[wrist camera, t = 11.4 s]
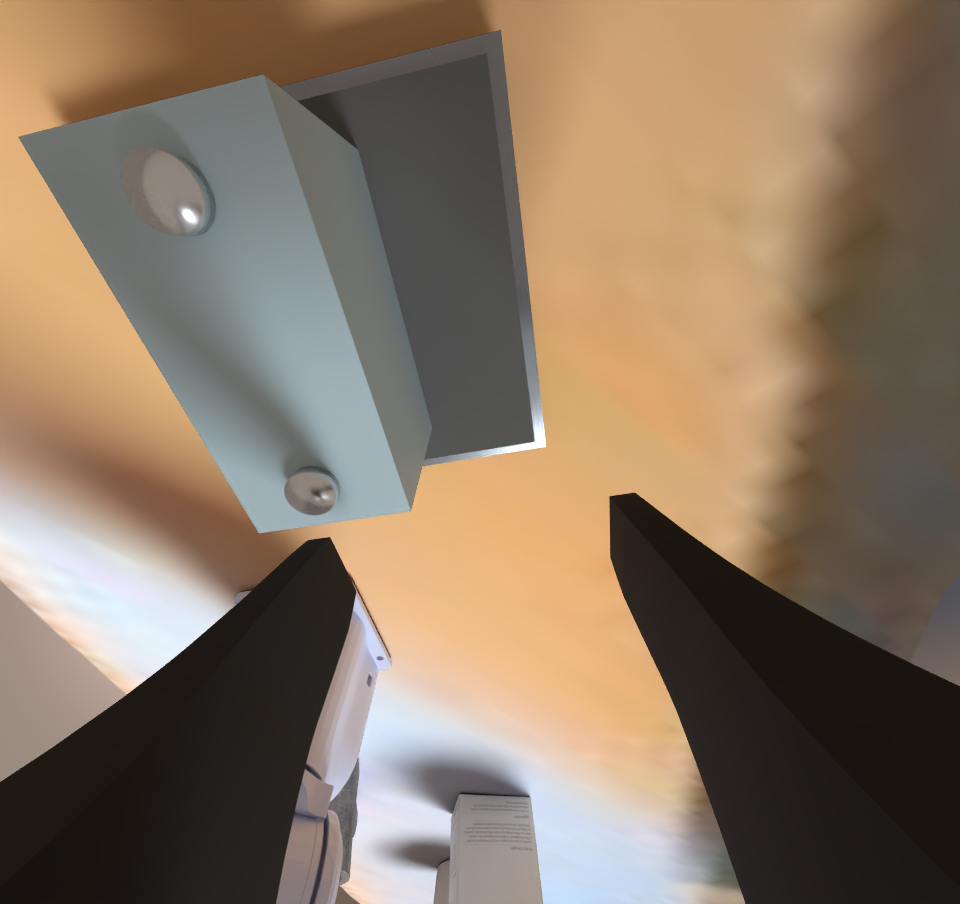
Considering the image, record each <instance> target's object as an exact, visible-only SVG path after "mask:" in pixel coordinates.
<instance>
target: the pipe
mask: <svg viewBox="0 0 960 904" xmlns="http://www.w3.org/2000/svg"><path fill="white" fill-rule="evenodd" d="M358 780H359V763H358V761H357V762H356V765H355V767H354V769H353V771H352V773H351V775H350V777H349V779H348V781H347V782H346V784H345V785H344V786H343V788H342V789H341V791H340V792H339V793H338V794H337V796H336V797H335V798H334V799H333V800H332V801H331V802H330V804H329V808H328V810H333V811H334V812H335V813H336V814H337V816H338V819H339V824H340V831H341V834H342V841H343V856H342V866H341V873H340V879H339V885H342V884H344V883H346V882H347V881H349V878H350V865H351V850H352V838H353V837H354V834H355V831H356V826H357V813H358V812H357V804H356V797H357V787H358ZM339 885H338V886H339Z"/></svg>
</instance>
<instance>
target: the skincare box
mask: <svg viewBox="0 0 960 904" xmlns="http://www.w3.org/2000/svg"><path fill="white" fill-rule="evenodd" d="M449 904H543V899H542V890H541V881H540V873H539V864H538V855H537V846H536V838H535V830H534V821H533V813H532V805H531V798H530V797H517V796H492V795H469V794H459V796H458V799H457V802H456V805H455V808H454V811H453V814H452V818H451V844H450V879H449Z"/></svg>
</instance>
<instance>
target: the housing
mask: <svg viewBox="0 0 960 904" xmlns="http://www.w3.org/2000/svg"><path fill="white" fill-rule="evenodd" d="M19 139H20V141H21V142H22V144H23V146H24V147H25V149H26V151H27V152H28V154H29V156H30V157H31V159H32V161H33V162H34V164H35V165H36V167H37V169H38V170H39V172H40V174H41V175H42V177H43V179H44V180H45V182H46V184H47V185H48V187H49V189H50V190H51V192H52V193H53V195H54V197H55V198H56V200H57V202H58V203H59V205H60V207H61V208H62V210H63V212H64V213H65V215H66V217H67V218H68V220H69V221H70V223H71V225H72V226H73V228H74V230H75V231H76V233H77V235H78V236H79V238H80V240H81V241H82V243H83V245H84V246H85V248H86V249H87V251H88V253H89V254H90V256H91V258H92V259H93V261H94V263H95V264H96V266H97V268H98V269H99V271H100V273H101V274H102V276H103V277H104V279H105V281H106V282H107V284H108V286H109V287H110V289H111V291H112V292H113V294H114V296H115V297H116V299H117V301H118V302H119V304H120V305H121V307H122V309H123V310H124V312H125V314H126V315H127V317H128V319H129V320H130V322H131V324H132V325H133V327H134V329H135V330H136V332H137V333H138V335H139V337H140V338H141V340H142V342H143V343H144V345H145V347H146V348H147V350H148V352H149V353H150V355H151V357H152V358H153V360H154V361H155V363H156V365H157V366H158V368H159V370H160V371H161V373H162V375H163V376H164V378H165V380H166V381H167V383H168V385H169V386H170V388H171V389H172V391H173V393H174V394H175V396H176V398H177V399H178V401H179V403H180V404H181V406H182V408H183V409H184V411H185V413H186V414H187V416H188V417H189V419H190V421H191V422H192V424H193V426H194V427H195V429H196V431H197V432H198V434H199V436H200V437H201V439H202V441H203V442H204V444H205V445H206V447H207V449H208V450H209V452H210V454H211V455H212V457H213V459H214V460H215V462H216V464H217V465H218V467H219V469H220V470H221V472H222V473H223V475H224V477H225V478H226V480H227V482H228V483H229V485H230V487H231V488H232V490H233V492H234V493H235V495H236V497H237V498H238V500H239V501H240V503H241V505H242V506H243V508H244V510H245V511H246V513H247V515H248V516H249V518H250V520H251V521H252V523H253V525H254V526H255V528H256V529H257V531H258V533H266V532H273V531H279V530H286V529H293V528H300V527H307V526H313V525H320V524H327V523H334V522H341V521H347V520H354V519H361V518H368V517H375V516H381V515H388V514H395V513H402V512H409V511H411V508H412V505H413V501H414V497H415V493H416V489H417V485H418V481H419V477H420V473H421V470H422V466H423V462H424V458H425V454H426V450H427V446H428V442H429V439H430V435H431V431H432V425H431V422H430V418H429V414H428V410H427V407H426V403H425V399H424V395H423V391H422V388H421V384H420V380H419V376H418V373H417V369H416V365H415V361H414V358H413V354H412V350H411V346H410V343H409V339H408V335H407V331H406V328H405V324H404V320H403V316H402V313H401V309H400V305H399V301H398V298H397V294H396V290H395V286H394V283H393V279H392V275H391V271H390V268H389V264H388V260H387V256H386V252H385V249H384V245H383V241H382V237H381V234H380V230H379V226H378V222H377V219H376V215H375V211H374V207H373V204H372V200H371V196H370V192H369V189H368V185H367V181H366V177H365V174H364V170H363V166H362V162H361V159H360V155H359V151H358V149H356V148H355V147H354V146H353V145H351V144H350V143H349V142H348V141H346V140H345V139H344V138H343V137H341V136H340V135H339V134H338V133H336V132H335V131H334V130H333V129H331V128H330V127H329V126H328V125H326V124H325V123H324V122H323V121H321V120H320V119H319V118H318V117H316V116H315V115H314V114H313V113H311V112H310V111H309V110H308V109H306V108H305V107H304V106H303V105H301V104H300V103H299V102H298V101H296V100H295V99H294V98H293V97H291V96H290V95H289V94H288V93H286V92H285V91H284V90H283V89H281V88H280V87H279V86H278V85H276V84H275V83H274V82H273V81H271V80H270V79H269V78H268V77H266V76H265V75H264V74H262V75H258V76H254V77H250V78H246V79H242V80H238V81H234V82H231V83H227V84H223V85H219V86H215V87H211V88H207V89H203V90H199V91H195V92H192V93H188V94H184V95H180V96H176V97H172V98H168V99H164V100H160V101H156V102H153V103H149V104H145V105H141V106H137V107H133V108H129V109H125V110H121V111H117V112H113V113H110V114H106V115H102V116H98V117H94V118H90V119H86V120H82V121H78V122H74V123H71V124H67V125H63V126H59V127H55V128H51V129H47V130H43V131H39V132H35V133H32V134H28V135H24V136H20V137H19Z"/></svg>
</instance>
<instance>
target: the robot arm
mask: <svg viewBox="0 0 960 904" xmlns="http://www.w3.org/2000/svg"><path fill="white" fill-rule="evenodd" d="M610 557H611V560H612V564H613V567H614V570H615V573H616V576H617V579H618V582H619V584H620V587H621V590H622V593H623V596H624V598H625V600H626V602H627V605H628V607H629V609H630V611H631V613H632V615H633V618H634V620H635V622H636V624H637V626H638V628H639V630H640V632H641V635H642V637H643V639H644V641H645V643H646V645H647V647H648V649H649V651H650V654H651V656H652V658H653V660H654V662H655V664H656V666H657V668H658V670H659V673H660V675H661V677H662V679H663V681H664V683H665V685H666V687H667V690H668V692H669V694H670V697H671V699H672V701H673V704H674V706H675V708H676V711H677V713H678V716H679V718H680V721H681V724H682V726H683V729H684V732H685V734H686V737H687V740H688V742H689V745H690V748H691V750H692V753H693V756H694V758H695V761H696V764H697V767H698V769H699V772H700V775H701V778H702V780H703V783H704V786H705V789H706V792H707V794H708V797H709V800H710V803H711V805H712V808H713V811H714V814H715V817H716V819H717V822H718V825H719V828H720V831H721V834H722V836H723V839H724V842H725V845H726V848H727V851H728V854H729V857H730V860H731V863H732V866H733V868H734V871H735V874H736V877H737V880H738V883H739V886H740V889H741V892H742V895H743V897H744V900H745V903H746V904H960V686H958V685H956V684H954V683H952V682H949V681H947V680H945V679H943V678H941V677H939V676H937V675H935V674H932V673H930V672H928V671H926V670H924V669H922V668H920V667H917V666H915V665H913V664H911V663H909V662H907V661H905V660H903V659H901V658H899V657H897V656H895V655H893V654H891V653H889V652H887V651H885V650H883V649H881V648H879V647H877V646H875V645H873V644H871V643H869V642H867V641H865V640H863V639H861V638H859V637H857V636H855V635H853V634H852V633H850V632H848V631H846V630H844V629H842V628H840V627H838V626H836V625H835V624H833V623H831V622H829V621H827V620H825V619H823V618H822V617H820V616H818V615H816V614H815V613H813V612H811V611H809V610H807V609H806V608H804V607H802V606H800V605H799V604H797V603H795V602H793V601H792V600H790V599H788V598H786V597H785V596H783V595H781V594H779V593H778V592H776V591H774V590H773V589H771V588H769V587H768V586H766V585H764V584H763V583H761V582H760V581H758V580H756V579H755V578H753V577H752V576H750V575H749V574H747V573H746V572H744V571H742V570H741V569H739V568H738V567H736V566H735V565H733V564H732V563H730V562H728V561H727V560H725V559H724V558H723V557H721V556H720V555H718V554H717V553H715V552H714V551H712V550H711V549H710V548H708V547H707V546H705V545H704V544H703V543H701V542H700V541H698V540H697V539H696V538H694V537H693V536H691V535H690V534H689V533H687V532H686V531H685V530H683V529H682V528H681V527H679V526H678V525H677V524H675V523H674V522H673V521H671V520H670V519H669V518H667V517H666V516H665V515H663V514H662V513H661V512H660V511H658V510H657V509H656V508H654V507H653V506H652V505H651V504H649V503H648V502H647V501H645V500H644V499H643V498H641V497H640V496H639V495H637V494H636V493H629V494H622V495H616V496H610ZM234 601H235V603H236V604H237V605H235V606H234V607H233V608H232V609H231V610H230V611H229V612H227V613H226V614H225V615H224V616H223V617H222V618H221V619H219V620H218V621H217V622H216V623H215V624H214V625H212V626H211V627H210V628H209V629H208V630H207V631H206V632H204V633H203V634H202V635H201V636H200V637H199V638H197V639H196V640H195V641H194V642H193V643H192V644H190V645H189V646H188V647H187V648H186V649H185V650H183V651H182V652H181V653H180V654H178V655H177V656H176V657H175V658H174V659H172V660H171V661H170V662H169V663H167V664H166V665H165V666H164V667H162V668H161V669H160V670H158V671H157V672H156V673H155V674H153V675H152V676H151V677H149V678H148V679H147V680H145V681H144V682H143V683H142V684H140V685H139V686H138V687H136V688H135V689H134V690H132V691H131V692H130V693H128V694H127V695H126V696H124V697H123V698H122V699H120V700H119V701H118V702H116V703H115V704H114V705H112V706H111V707H110V708H108V709H107V710H105V711H104V712H102V713H101V714H99V715H98V716H96V717H95V718H94V719H92V720H91V721H89V722H88V723H87V724H85V725H84V726H82V727H81V728H79V729H78V730H77V731H75V732H74V733H72V734H71V735H70V736H68V737H67V738H65V739H64V740H63V741H61V742H60V743H58V744H57V745H55V746H54V747H53V748H51V749H49V750H48V751H47V752H45V753H44V754H42V755H41V756H39V757H38V758H36V759H35V760H33V761H31V762H30V763H28V764H27V765H26V766H24V767H22V768H21V769H19V770H18V771H16V772H15V773H13V774H12V775H10V776H9V777H7V778H6V779H4V780H3V781H1V782H0V904H334V903H335V899H336V894H337V889H338V885H339V879H340V873H341V866H342V856H343V841H342V834H341V831H340V824H339V819H338V816H337V814H336V813H335V812H334V811H333V810H328V808H329V804H330V802H331V801H332V800H333V799H334V798H335V797H336V796H337V794H338V793H339V792H340V791H341V789H342V788H343V786H344V785H345V784H346V782H347V781H348V779H349V777H350V775H351V773H352V771H353V769H354V767H355V765H356V762H357V759H358V755H359V752H360V747H361V743H362V739H363V735H364V730H365V726H366V722H367V718H368V713H369V709H370V705H371V701H372V697H373V692H374V688H375V684H376V680H377V675H378V671H381V670H388V669H390V668H391V665H392V661H391V659H390V657H389V655H388V653H387V651H386V648H385V646H384V644H383V642H382V640H381V638H380V636H379V634H378V632H377V630H376V628H375V626H374V624H373V622H372V620H371V618H370V616H369V614H368V612H367V610H366V608H365V606H364V604H363V602H362V600H361V598H360V596H359V594H358V592H357V590H356V588H355V586H354V583H353V582H352V581H351V579H350V577H349V575H348V573H347V571H346V569H345V567H344V564H343V562H342V560H341V558H340V556H339V554H338V552H337V550H336V548H335V546H334V544H333V542H332V540H331V538H330V537H327V538H320V539H314V540H308V541H307V542H305V543H304V544H303V545H302V546H300V547H299V548H298V549H297V550H296V551H295V552H293V553H292V554H291V555H290V556H289V557H288V558H287V559H286V560H284V561H283V562H282V563H281V564H280V565H279V566H278V567H277V568H276V569H275V570H274V571H272V572H271V573H270V574H269V575H268V576H267V577H266V578H265V579H264V580H263V581H262V582H261V583H259V584H258V585H257V586H256V587H255V588H254V589H253V590H252V591H245V592H240V593H238V594H237V595H236V597H235V598H234Z"/></svg>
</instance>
